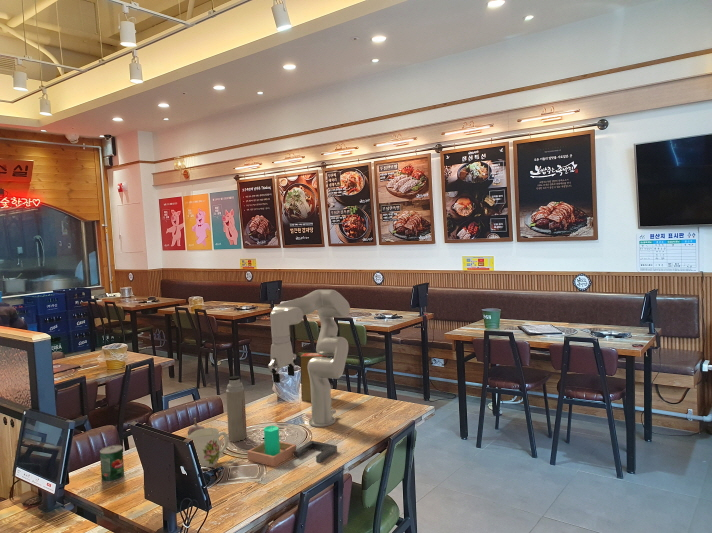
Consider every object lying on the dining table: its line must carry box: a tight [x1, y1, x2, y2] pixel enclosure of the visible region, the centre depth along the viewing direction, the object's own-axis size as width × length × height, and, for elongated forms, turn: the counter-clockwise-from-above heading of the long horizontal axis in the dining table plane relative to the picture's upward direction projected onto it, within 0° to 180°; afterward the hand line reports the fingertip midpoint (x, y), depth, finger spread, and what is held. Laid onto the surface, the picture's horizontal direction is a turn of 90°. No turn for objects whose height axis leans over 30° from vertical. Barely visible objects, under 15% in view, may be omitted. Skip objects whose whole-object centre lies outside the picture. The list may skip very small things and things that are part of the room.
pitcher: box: [186, 427, 229, 468], centre depth 203 cm, size 11×18×14 cm, turn 138°
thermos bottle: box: [225, 375, 248, 442], centre depth 228 cm, size 8×8×28 cm
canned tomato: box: [99, 444, 125, 483], centre depth 194 cm, size 8×8×11 cm
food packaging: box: [299, 352, 329, 402], centre depth 282 cm, size 13×9×25 cm
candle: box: [263, 424, 280, 456], centre depth 208 cm, size 6×6×12 cm
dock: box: [293, 440, 338, 464], centre depth 208 cm, size 12×13×2 cm
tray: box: [246, 440, 297, 467], centre depth 208 cm, size 14×14×4 cm
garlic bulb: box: [187, 417, 205, 436], centre depth 235 cm, size 8×7×8 cm
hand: (284, 378), depth 217 cm, fingers open, 9 cm apart
